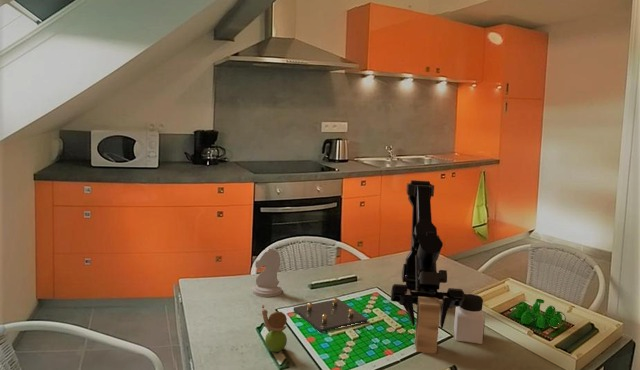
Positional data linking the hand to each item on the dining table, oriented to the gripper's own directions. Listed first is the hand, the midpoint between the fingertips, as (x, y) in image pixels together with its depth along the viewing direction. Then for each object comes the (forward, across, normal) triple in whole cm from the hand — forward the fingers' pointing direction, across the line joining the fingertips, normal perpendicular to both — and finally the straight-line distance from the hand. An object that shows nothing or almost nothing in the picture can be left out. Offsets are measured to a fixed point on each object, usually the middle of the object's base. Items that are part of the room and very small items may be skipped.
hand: (427, 326), depth 124 cm
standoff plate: (-7, -26, +16) cm, 31 cm away
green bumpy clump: (-12, +36, +22) cm, 44 cm away
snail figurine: (+10, -39, 0) cm, 40 cm away
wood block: (+4, 0, +6) cm, 7 cm away
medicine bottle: (-2, +13, +12) cm, 17 cm away
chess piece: (-17, -48, +27) cm, 58 cm away
